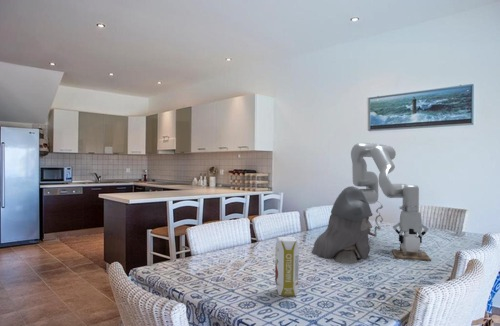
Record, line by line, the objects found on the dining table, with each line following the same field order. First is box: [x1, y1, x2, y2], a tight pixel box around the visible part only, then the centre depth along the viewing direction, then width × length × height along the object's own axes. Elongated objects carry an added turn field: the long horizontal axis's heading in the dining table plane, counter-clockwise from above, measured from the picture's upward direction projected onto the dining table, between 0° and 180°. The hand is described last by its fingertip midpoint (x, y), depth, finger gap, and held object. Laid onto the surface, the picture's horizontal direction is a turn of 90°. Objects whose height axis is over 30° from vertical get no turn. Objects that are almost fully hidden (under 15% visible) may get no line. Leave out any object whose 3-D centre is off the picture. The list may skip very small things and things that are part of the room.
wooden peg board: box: [391, 243, 432, 262], centre depth 173 cm, size 16×16×4 cm
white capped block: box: [400, 229, 421, 252], centre depth 173 cm, size 7×7×12 cm
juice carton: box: [274, 236, 300, 297], centre depth 120 cm, size 8×9×19 cm
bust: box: [311, 185, 384, 265], centre depth 174 cm, size 34×34×35 cm
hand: (410, 243), depth 173 cm, fingers closed on white capped block, 7 cm apart
